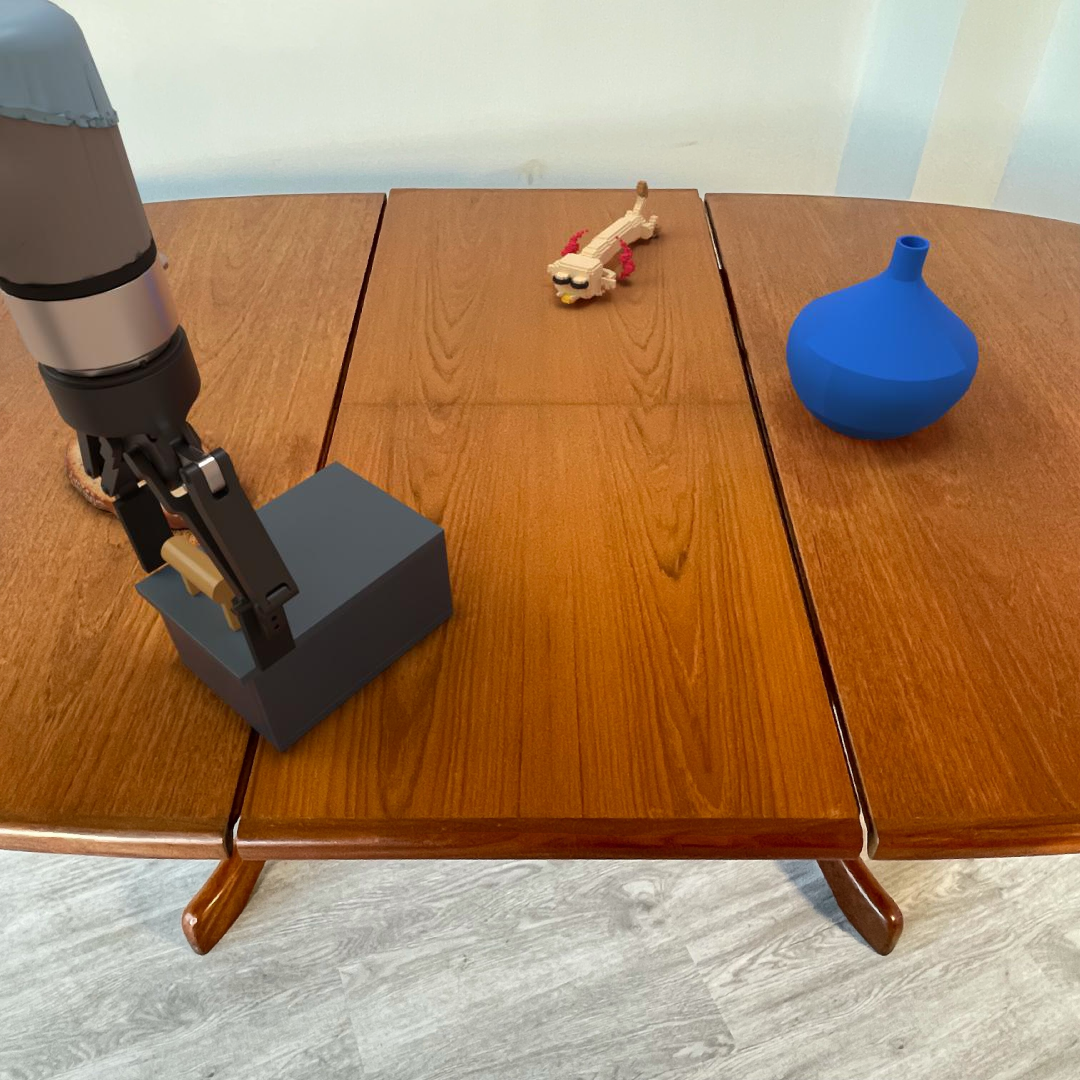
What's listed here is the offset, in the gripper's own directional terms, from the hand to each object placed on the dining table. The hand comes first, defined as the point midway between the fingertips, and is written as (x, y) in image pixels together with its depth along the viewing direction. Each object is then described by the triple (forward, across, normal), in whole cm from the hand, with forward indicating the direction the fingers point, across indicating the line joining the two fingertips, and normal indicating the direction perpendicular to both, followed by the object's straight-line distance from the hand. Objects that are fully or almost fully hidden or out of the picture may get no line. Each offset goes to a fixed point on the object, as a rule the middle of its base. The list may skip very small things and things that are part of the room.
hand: (216, 607), depth 61 cm
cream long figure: (+10, +22, -73) cm, 77 cm away
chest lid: (+1, 0, -7) cm, 7 cm away
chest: (+10, 0, -7) cm, 12 cm away
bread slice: (+10, +29, -10) cm, 32 cm away
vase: (+10, -19, -65) cm, 68 cm away
